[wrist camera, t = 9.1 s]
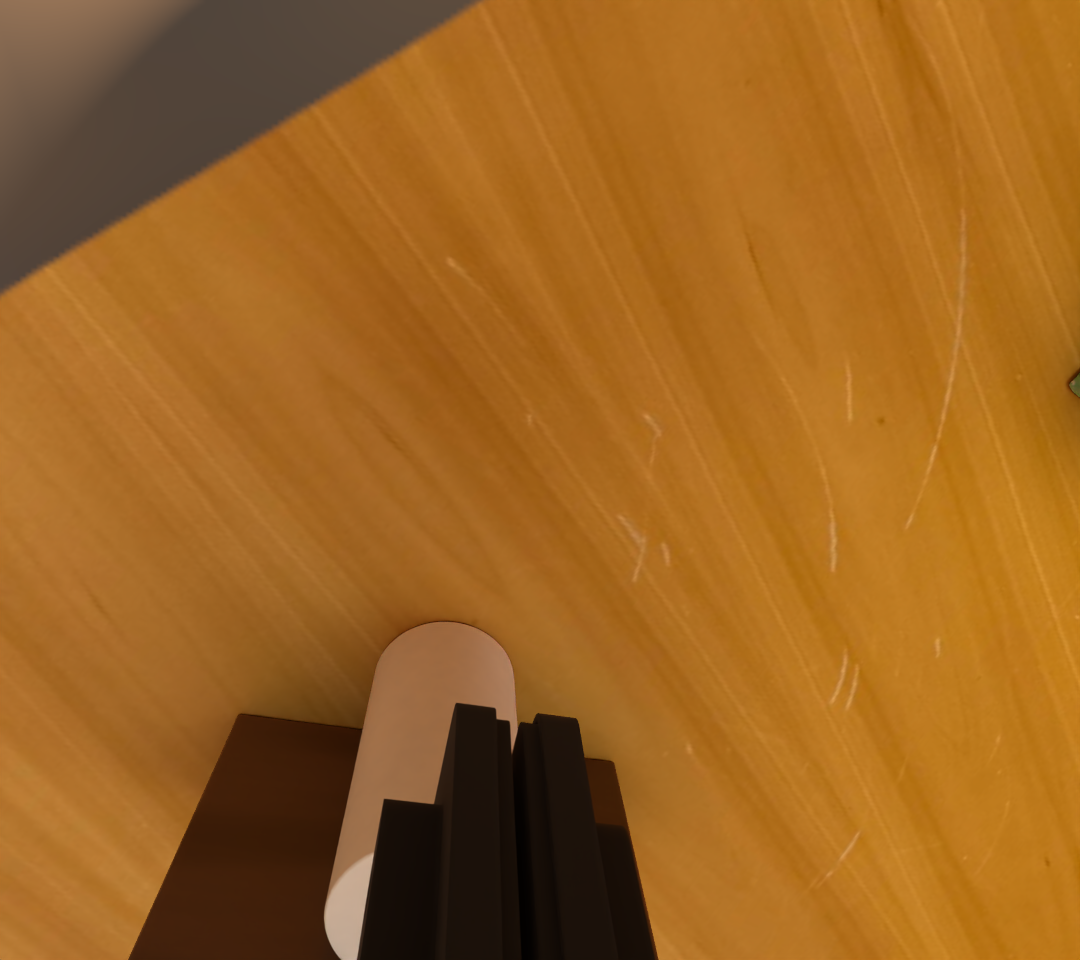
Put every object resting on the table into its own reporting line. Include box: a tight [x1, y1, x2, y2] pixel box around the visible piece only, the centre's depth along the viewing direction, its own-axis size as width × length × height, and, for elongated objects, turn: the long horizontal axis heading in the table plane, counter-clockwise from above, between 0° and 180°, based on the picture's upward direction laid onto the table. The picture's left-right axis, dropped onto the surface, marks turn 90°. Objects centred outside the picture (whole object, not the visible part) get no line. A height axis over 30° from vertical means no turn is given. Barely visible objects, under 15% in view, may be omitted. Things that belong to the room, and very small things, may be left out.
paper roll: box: [324, 622, 518, 960], centre depth 24 cm, size 9×5×11 cm, turn 168°
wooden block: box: [128, 714, 658, 960], centre depth 25 cm, size 4×14×12 cm, turn 78°
